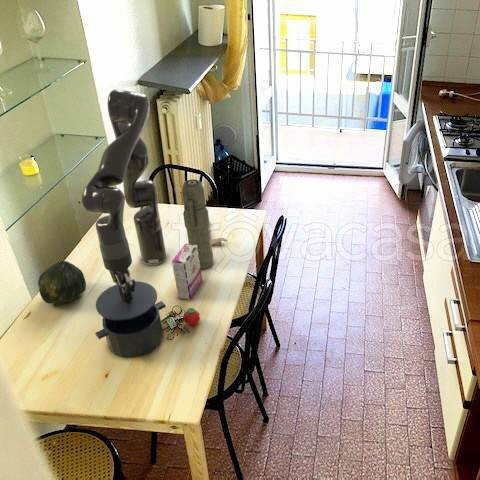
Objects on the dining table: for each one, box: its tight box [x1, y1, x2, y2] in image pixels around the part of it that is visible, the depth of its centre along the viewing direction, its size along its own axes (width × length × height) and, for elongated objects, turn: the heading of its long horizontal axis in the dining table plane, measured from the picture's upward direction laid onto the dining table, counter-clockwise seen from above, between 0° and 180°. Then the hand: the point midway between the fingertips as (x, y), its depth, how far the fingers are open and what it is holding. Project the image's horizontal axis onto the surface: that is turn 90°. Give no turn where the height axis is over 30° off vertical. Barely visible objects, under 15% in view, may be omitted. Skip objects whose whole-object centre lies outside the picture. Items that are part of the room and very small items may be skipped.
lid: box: [95, 280, 158, 320], centre depth 153 cm, size 18×18×6 cm
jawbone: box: [208, 221, 228, 246], centre depth 214 cm, size 9×20×2 cm, turn 33°
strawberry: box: [183, 307, 201, 328], centre depth 168 cm, size 5×5×6 cm
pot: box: [94, 300, 167, 359], centre depth 160 cm, size 17×22×10 cm
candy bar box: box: [171, 243, 203, 301], centre depth 180 cm, size 11×5×16 cm, turn 168°
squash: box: [37, 260, 87, 306], centre depth 176 cm, size 14×15×15 cm
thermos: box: [181, 178, 214, 271], centre depth 188 cm, size 9×12×35 cm
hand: (126, 297), depth 154 cm, fingers closed on lid, 2 cm apart
